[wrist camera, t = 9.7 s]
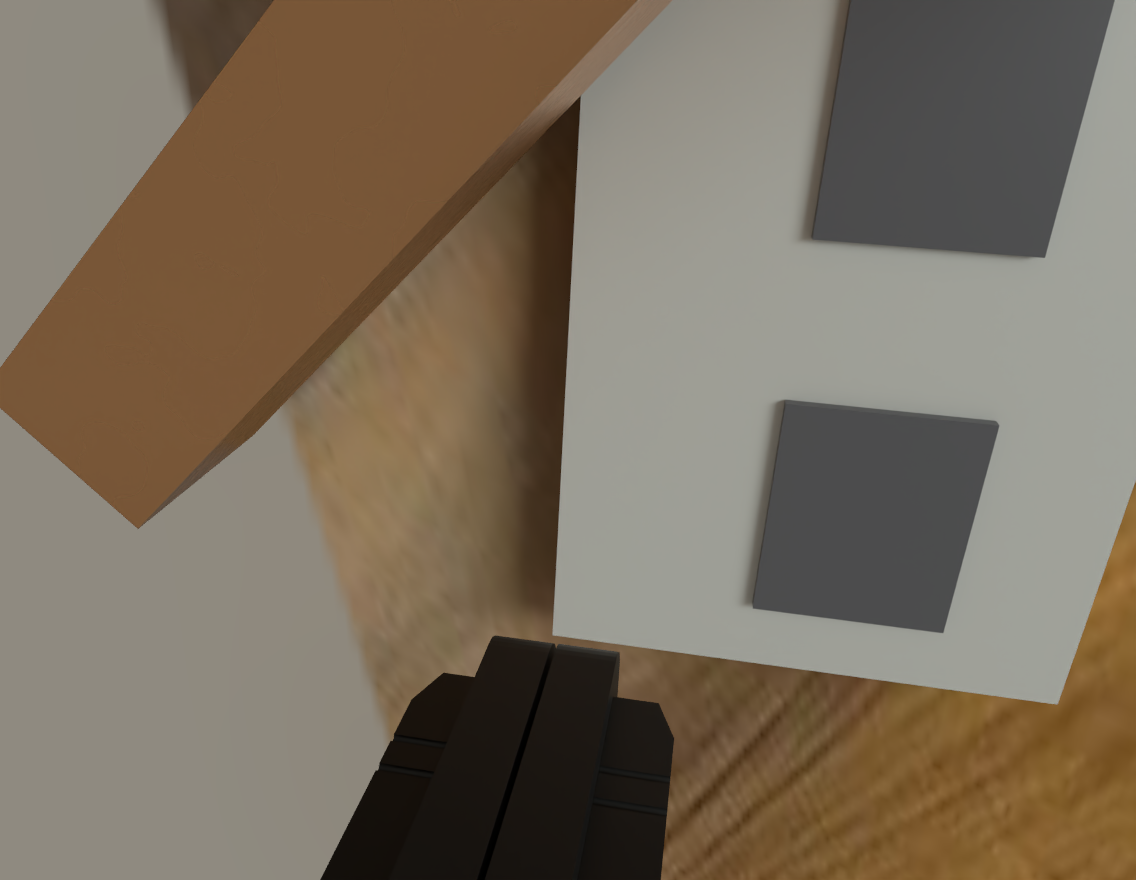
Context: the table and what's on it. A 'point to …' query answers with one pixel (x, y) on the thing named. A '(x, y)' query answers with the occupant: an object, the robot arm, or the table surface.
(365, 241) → the swing arm
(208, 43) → the table surface
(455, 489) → the table surface
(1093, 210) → the label board
